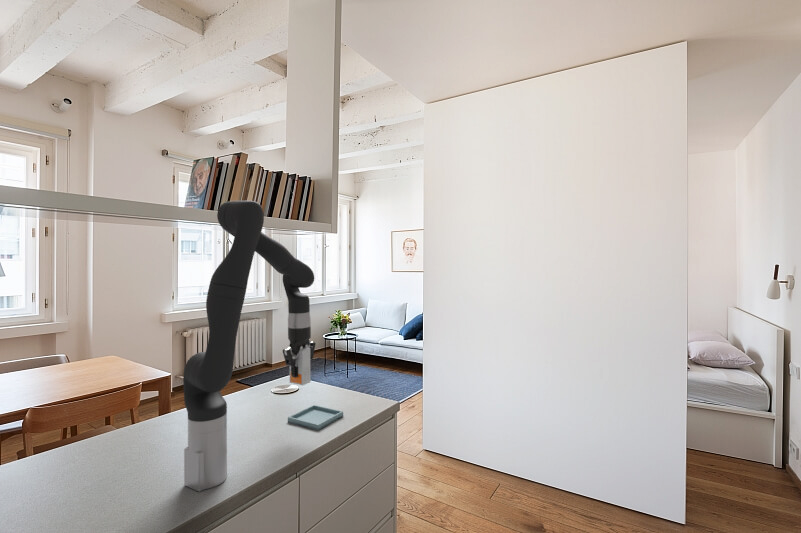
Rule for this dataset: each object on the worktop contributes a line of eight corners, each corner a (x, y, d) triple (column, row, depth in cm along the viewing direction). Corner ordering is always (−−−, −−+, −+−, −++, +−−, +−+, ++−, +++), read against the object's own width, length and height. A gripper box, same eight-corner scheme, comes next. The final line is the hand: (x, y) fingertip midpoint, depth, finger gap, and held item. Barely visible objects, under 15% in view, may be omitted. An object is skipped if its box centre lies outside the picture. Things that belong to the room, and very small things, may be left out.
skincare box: (289, 383, 136) (288, 348, 135) (297, 379, 140) (297, 345, 139) (302, 386, 133) (302, 350, 133) (311, 382, 137) (310, 347, 136)
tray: (318, 430, 135) (318, 425, 135) (287, 422, 142) (287, 417, 142) (343, 416, 148) (343, 411, 148) (314, 409, 154) (314, 404, 154)
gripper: (292, 329, 128) (293, 382, 128) (321, 322, 140) (322, 371, 141) (275, 328, 131) (276, 379, 132) (305, 321, 144) (306, 368, 144)
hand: (300, 374), depth 136 cm, fingers closed on skincare box, 4 cm apart
